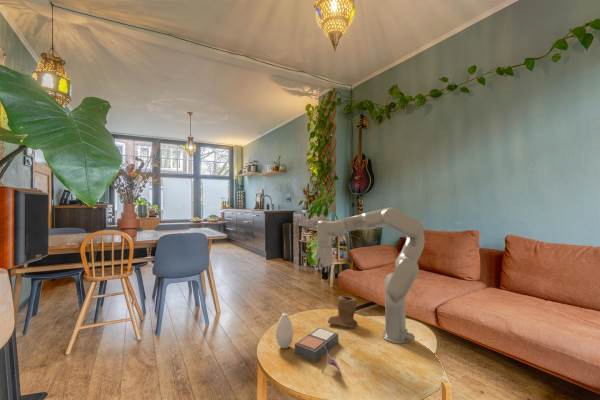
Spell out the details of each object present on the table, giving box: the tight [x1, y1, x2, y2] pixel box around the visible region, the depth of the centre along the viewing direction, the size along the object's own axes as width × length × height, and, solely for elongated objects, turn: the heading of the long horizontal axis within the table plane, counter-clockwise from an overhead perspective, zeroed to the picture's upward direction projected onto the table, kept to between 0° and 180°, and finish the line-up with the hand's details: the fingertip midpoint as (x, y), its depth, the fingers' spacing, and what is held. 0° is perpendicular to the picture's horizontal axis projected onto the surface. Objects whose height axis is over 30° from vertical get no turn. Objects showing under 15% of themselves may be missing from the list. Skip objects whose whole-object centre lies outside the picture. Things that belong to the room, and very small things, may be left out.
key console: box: [294, 327, 339, 364], centre depth 127 cm, size 11×20×4 cm, turn 144°
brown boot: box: [327, 295, 358, 329], centre depth 152 cm, size 15×12×15 cm
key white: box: [311, 328, 336, 341], centre depth 131 cm, size 8×8×2 cm
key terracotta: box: [299, 336, 324, 350], centre depth 123 cm, size 8×8×2 cm
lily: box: [321, 343, 342, 374], centre depth 110 cm, size 12×12×10 cm
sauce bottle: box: [275, 308, 294, 349], centre depth 128 cm, size 8×8×18 cm
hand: (324, 279), depth 144 cm, fingers closed
